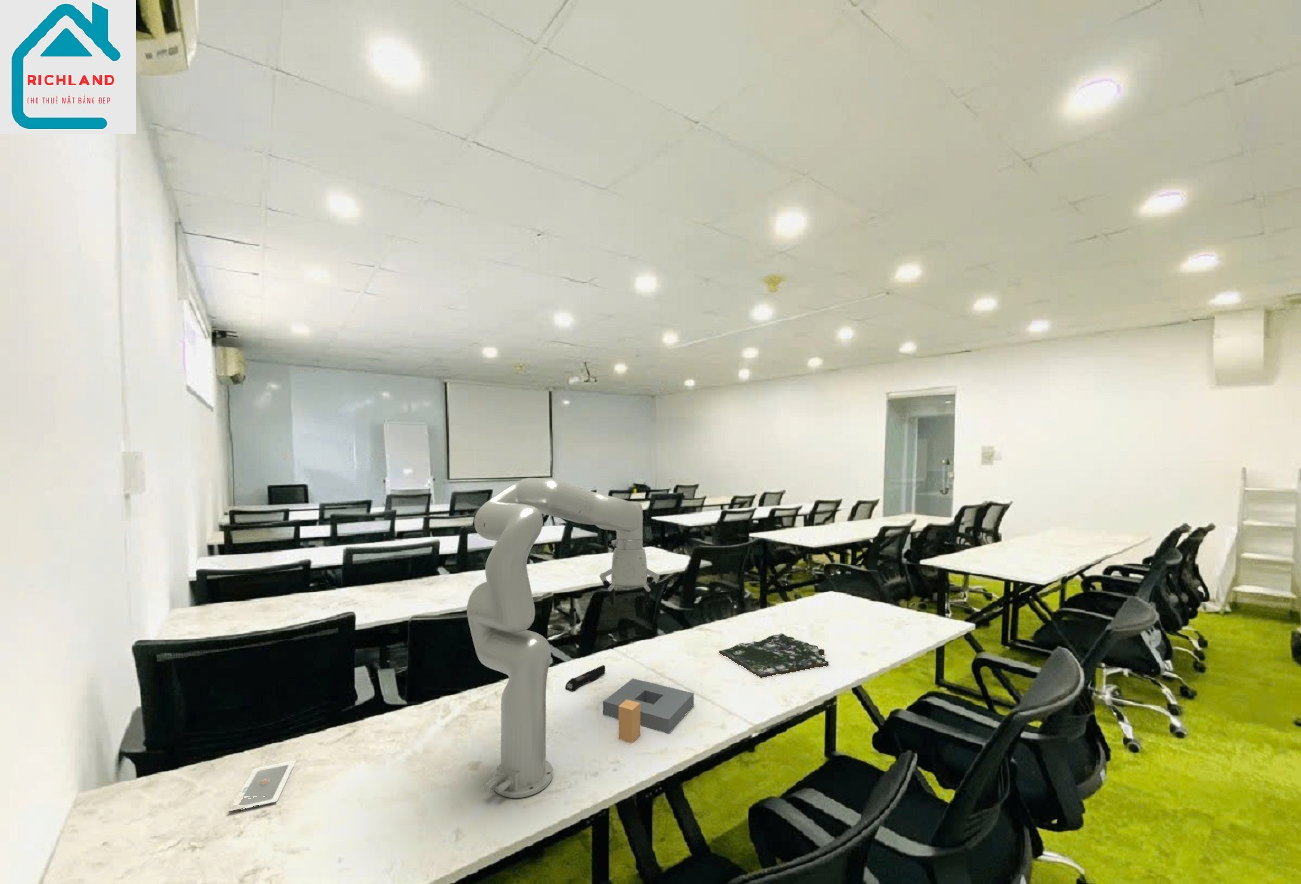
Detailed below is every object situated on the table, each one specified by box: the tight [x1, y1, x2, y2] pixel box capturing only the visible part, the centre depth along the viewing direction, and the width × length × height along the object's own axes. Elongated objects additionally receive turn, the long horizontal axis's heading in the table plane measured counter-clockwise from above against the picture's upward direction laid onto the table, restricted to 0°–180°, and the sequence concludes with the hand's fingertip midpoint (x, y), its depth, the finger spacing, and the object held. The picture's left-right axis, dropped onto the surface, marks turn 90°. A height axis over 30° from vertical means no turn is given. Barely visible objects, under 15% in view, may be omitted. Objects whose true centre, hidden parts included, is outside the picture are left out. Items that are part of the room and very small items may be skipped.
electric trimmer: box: [564, 665, 606, 692], centre depth 154 cm, size 4×16×3 cm, turn 142°
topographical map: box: [718, 632, 829, 679], centre depth 172 cm, size 26×33×3 cm
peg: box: [618, 700, 641, 744], centre depth 123 cm, size 4×4×8 cm
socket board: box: [602, 678, 695, 734], centre depth 136 cm, size 16×20×4 cm
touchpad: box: [232, 759, 297, 810], centre depth 105 cm, size 8×15×2 cm, turn 24°
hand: (629, 604), depth 142 cm, fingers open, 9 cm apart
